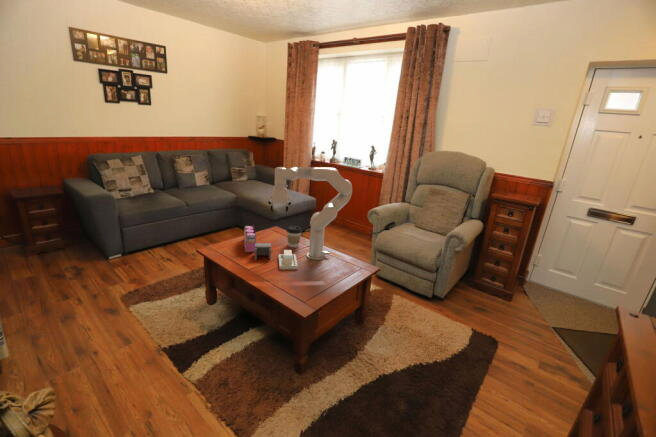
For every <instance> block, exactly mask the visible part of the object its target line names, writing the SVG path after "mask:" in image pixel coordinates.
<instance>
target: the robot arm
mask: <svg viewBox="0 0 656 437" xmlns="http://www.w3.org/2000/svg"><path fill="white" fill-rule="evenodd" d="M296 179H308V180H311V181H317V182H320V181H321V182H324V181H325V182H328V183H329V185H331V187H333V188H334V189H335V190H336V191H337V192H338V193H337V194H336V195H335V196H334V197H333V198H332V199H331V200H330V201H329V202H328V203H326V204H325V205H324V206H323V208H322V210H321V211H317V212H314V213H313V214H312V216H311V218H310V222H309V226H310V235H309V246H308V247H309V248H308V249H309V250H308V252H307V253H306V258H308V259H309V260H310V259H311V260H314V261H321V260H324V259H325V256H328V255H330V251H327V250H324V242H325V241H324V239H325V230H326V229H325V227H327V226H328V225H329V224H330V223H332V221H334V220H335V219H336V218H337V216H338V212H339V211H341V209H342V208H344V207H345V206H346V205H347V204H348V203H349V202H350V200H351V197H352V195H353V185H352V182H351V181H350V180H349V179H345V178H344V177H343V176H342V175H341V174H340V173H339V170H338V169H337V168H335V167H308V166H307V167H306V166H293V167H292V166H291V167H290V168H286V167H284V166H277V167H275V168H274V187H273V188H272V193H271V194H272V195H271V196H269V197H266V201H267V203H268V204H269V206H270V209H269V210H270V211H271V212H273V210H274V207H273V205H274V204H285V212H286V213H288V211H289V206H291V205H292V203H293V199H292V198H291V197H289V196H288V195H289V194H288V189H287V188H288V187H289V184H287V181H295V180H296ZM270 200H271V201H270Z"/></svg>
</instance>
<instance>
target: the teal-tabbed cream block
mask: <svg viewBox="0 0 656 437" xmlns="http://www.w3.org/2000/svg"><path fill="white" fill-rule="evenodd" d="M283 254H284V265H292V259H293V258H292V254H293V252H292V249H283Z"/></svg>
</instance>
